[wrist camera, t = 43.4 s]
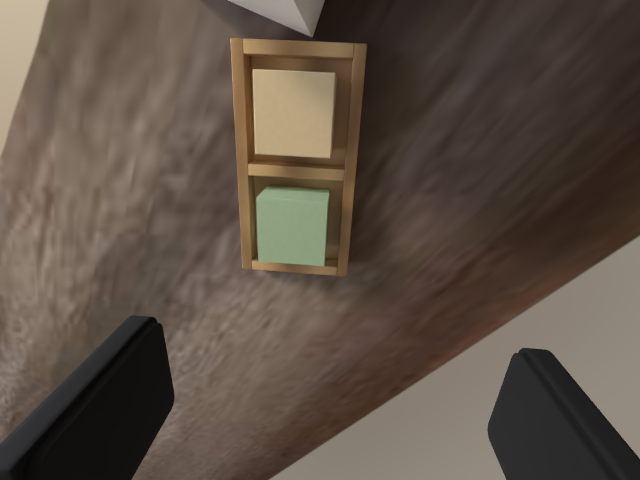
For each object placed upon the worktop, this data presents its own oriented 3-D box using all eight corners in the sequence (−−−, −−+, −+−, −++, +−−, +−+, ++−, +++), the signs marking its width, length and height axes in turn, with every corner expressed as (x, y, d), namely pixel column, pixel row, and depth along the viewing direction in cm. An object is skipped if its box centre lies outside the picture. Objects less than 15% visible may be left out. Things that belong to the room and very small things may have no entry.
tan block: (337, 77, 27) (335, 72, 23) (332, 150, 30) (330, 158, 25) (266, 74, 28) (252, 68, 23) (267, 147, 30) (254, 154, 26)
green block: (330, 188, 31) (328, 201, 27) (327, 246, 33) (324, 266, 29) (268, 184, 31) (256, 197, 27) (268, 242, 34) (258, 261, 29)
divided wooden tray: (365, 48, 27) (367, 43, 24) (346, 264, 35) (346, 276, 32) (240, 43, 27) (229, 37, 25) (249, 257, 35) (242, 268, 33)
